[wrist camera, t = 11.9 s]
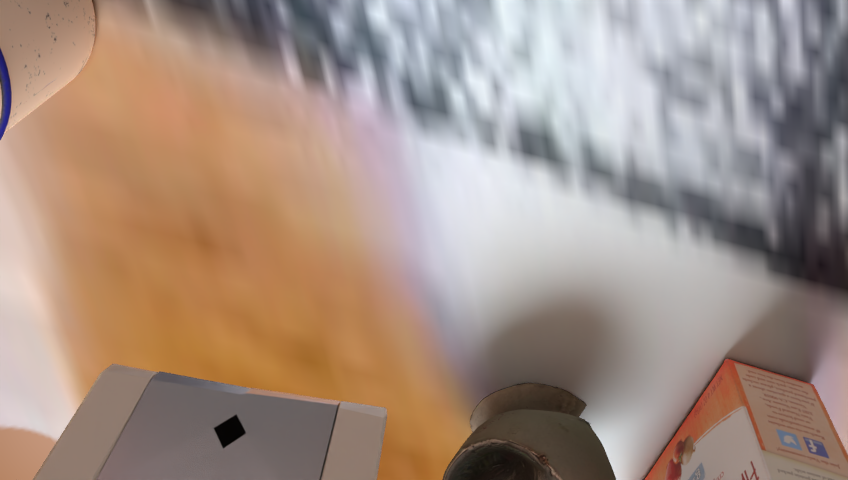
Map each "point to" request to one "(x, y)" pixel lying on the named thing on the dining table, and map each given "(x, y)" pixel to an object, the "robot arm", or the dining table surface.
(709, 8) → the dining table surface
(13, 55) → the teacup with lid
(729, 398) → the cracker box
